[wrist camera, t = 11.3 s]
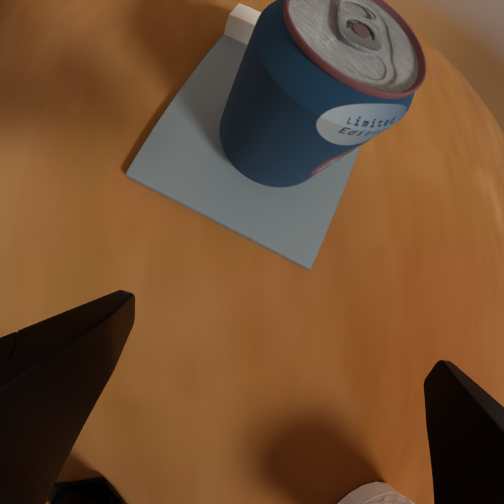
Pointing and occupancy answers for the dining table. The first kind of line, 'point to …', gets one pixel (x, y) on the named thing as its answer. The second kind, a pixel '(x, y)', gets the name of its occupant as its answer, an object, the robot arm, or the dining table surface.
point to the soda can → (317, 86)
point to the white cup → (375, 495)
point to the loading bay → (221, 169)
